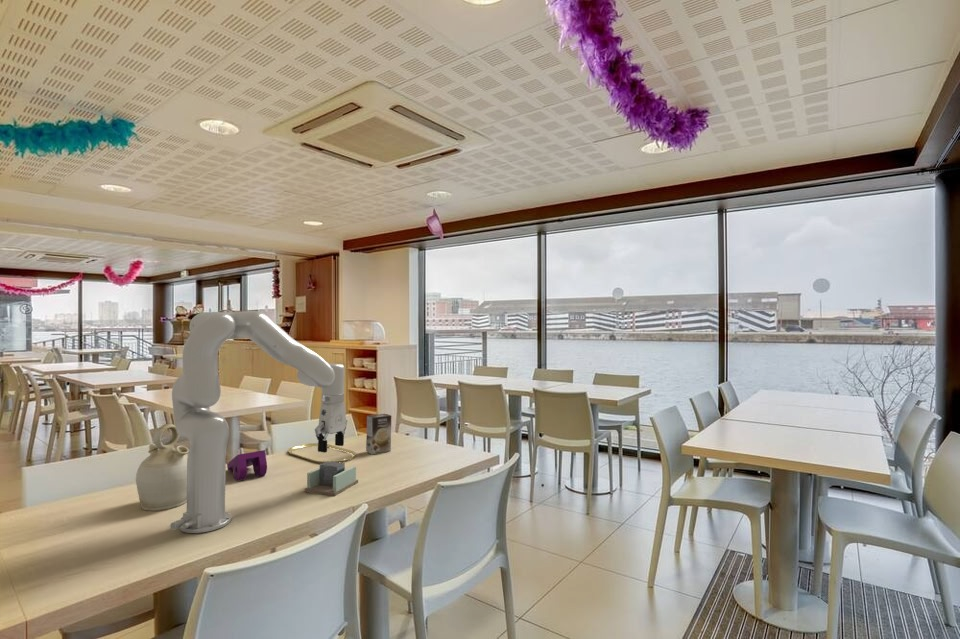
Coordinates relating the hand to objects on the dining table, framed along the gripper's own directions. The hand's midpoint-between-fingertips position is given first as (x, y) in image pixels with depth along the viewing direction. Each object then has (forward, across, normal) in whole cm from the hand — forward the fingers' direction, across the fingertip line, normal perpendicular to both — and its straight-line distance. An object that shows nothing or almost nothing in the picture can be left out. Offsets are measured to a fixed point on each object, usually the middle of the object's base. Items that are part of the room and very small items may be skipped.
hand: (331, 448), depth 168 cm
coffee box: (+13, +47, +8) cm, 49 cm away
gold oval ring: (+14, +35, +29) cm, 47 cm away
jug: (+15, -29, +40) cm, 51 cm away
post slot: (+13, +1, 0) cm, 13 cm away
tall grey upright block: (+12, +1, 0) cm, 12 cm away
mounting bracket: (+14, +3, +39) cm, 42 cm away
